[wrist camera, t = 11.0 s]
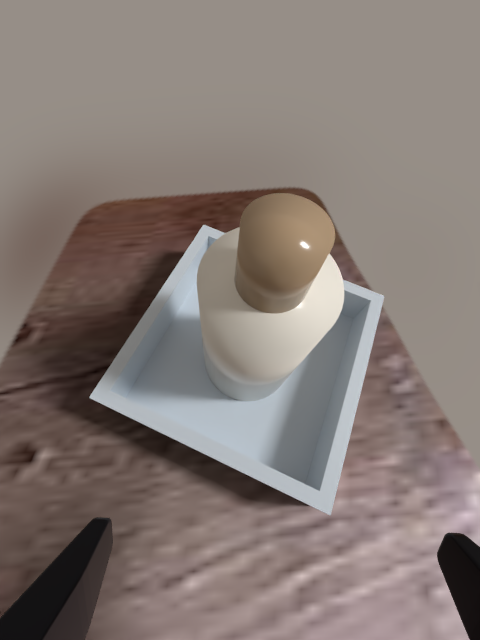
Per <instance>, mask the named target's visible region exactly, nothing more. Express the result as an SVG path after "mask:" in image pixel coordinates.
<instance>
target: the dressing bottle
mask: <svg viewBox="0 0 480 640" xmlns="http://www.w3.org/2000/svg"><path fill="white" fill-rule="evenodd" d="M334 241H335V230H334V226H333V224H332V221H331V219H330V218H329V216H328V215H327V214H326V212H325V211H324V210H323V209H322V208H320V207H319V206H318V205H317V204H315V203H314V202H312V201H310V200H308V199H306V198H304V197H301V196H298V195H293V194H287V193H275V194H269V195H265V196H262V197H260V198H258V199H256V200H254V201H253V202H252V203H250V204H249V205H248V206H247V207H246V209H245V210H244V212H243V214H242V217H241V221H240V227H239V228H236V229H234V230H231V231H229V232H227V233H226V234H224V235H222V236H221V237H219V238H218V239H217V240H216V241H215V242H214V243H213V244H212V245H211V246H210V247H209V248H208V249H207V251H206V252H205V253H204V255H203V257H202V259H201V261H200V264H199V267H198V272H197V293H198V303H199V312H200V322H201V332H202V341H203V351H204V361H205V368H206V371H207V374H208V376H209V378H210V380H211V382H212V383H213V384H214V386H215V387H216V388H217V389H218V390H219V391H220V392H222V393H223V394H225V395H226V396H228V397H230V398H233V399H236V400H240V401H256V400H260V399H263V398H266V397H268V396H270V395H271V394H273V393H274V392H275V391H276V390H277V389H278V388H279V387H280V386H281V385H282V384H283V383H284V381H285V380H286V379H287V378H288V377H289V376H290V375H291V373H292V372H293V371H294V370H295V369H296V368H297V367H298V365H299V364H300V363H301V362H302V361H303V360H304V359H305V357H306V356H307V355H308V354H309V353H310V352H311V351H312V349H313V348H314V347H315V346H316V345H317V344H318V343H319V341H320V340H321V339H322V338H323V337H324V336H325V334H326V333H327V332H328V331H329V330H330V329H331V328H332V326H333V325H334V324H335V322H336V321H337V319H338V318H339V315H340V313H341V310H342V307H343V303H344V284H343V279H342V276H341V273H340V270H339V268H338V266H337V264H336V262H335V261H334V259H333V258H332V257H331V255H330V254H329V253H330V251H331V249H332V247H333V244H334Z"/></svg>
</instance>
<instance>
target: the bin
mask: <svg viewBox="0 0 480 640" xmlns="http://www.w3.org/2000/svg"><path fill="white" fill-rule="evenodd" d="M224 234H226V233H223V232H221V231H218V230H216V229H213V228H211V227H208V226H205V225H203V226H202V228H201V229H200V231H199V232H198V234H197V235H196V237H195V238H194V240H193V241H192V243H191V244H190V246H189V247H188V249H187V250H186V252H185V254H184V255H183V257H182V258H181V260H180V261H179V263H178V264H177V266H176V267H175V269H174V270H173V272H172V273H171V275H170V276H169V278H168V279H167V281H166V282H165V284H164V285H163V287H162V288H161V290H160V291H159V293H158V294H157V296H156V297H155V299H154V300H153V302H152V303H151V305H150V306H149V308H148V309H147V311H146V312H145V314H144V315H143V317H142V318H141V320H140V321H139V323H138V324H137V326H136V327H135V329H134V330H133V332H132V333H131V335H130V336H129V338H128V339H127V341H126V342H125V344H124V345H123V347H122V348H121V350H120V351H119V353H118V354H117V356H116V357H115V359H114V361H113V362H112V364H111V365H110V367H109V368H108V370H107V371H106V373H105V374H104V376H103V377H102V379H101V380H100V382H99V383H98V385H97V386H96V388H95V389H94V391H93V392H92V394H91V395H90V397H89V398H91V399H93V400H95V401H97V402H98V403H100V404H102V405H104V406H106V407H108V408H110V409H112V410H115V411H117V412H119V413H121V414H123V415H125V416H127V417H129V418H131V419H133V420H135V421H137V422H139V423H141V424H143V425H145V426H147V427H149V428H151V429H153V430H156V431H158V432H160V433H162V434H164V435H166V436H168V437H170V438H172V439H174V440H176V441H178V442H180V443H182V444H184V445H186V446H188V447H190V448H192V449H194V450H197V451H199V452H201V453H203V454H205V455H207V456H209V457H211V458H213V459H215V460H217V461H219V462H221V463H223V464H225V465H227V466H229V467H231V468H233V469H235V470H238V471H240V472H242V473H244V474H246V475H248V476H250V477H252V478H254V479H256V480H258V481H260V482H262V483H264V484H266V485H268V486H270V487H272V488H274V489H276V490H279V491H281V492H283V493H285V494H287V495H289V496H291V497H293V498H295V499H297V500H299V501H301V502H303V503H305V504H307V505H309V506H311V507H313V508H316V509H318V510H320V511H322V512H324V513H326V514H328V515H331V511H332V507H333V503H334V499H335V495H336V491H337V487H338V483H339V479H340V475H341V471H342V466H343V462H344V458H345V454H346V450H347V446H348V442H349V438H350V434H351V430H352V426H353V422H354V418H355V414H356V409H357V405H358V401H359V397H360V393H361V389H362V385H363V381H364V377H365V373H366V369H367V365H368V361H369V356H370V352H371V348H372V344H373V340H374V336H375V332H376V328H377V324H378V320H379V316H380V312H381V308H382V304H383V299H384V296H383V295H380V294H378V293H375V292H373V291H370V290H368V289H365V288H363V287H360V286H358V285H355V284H353V283H350V282H348V281H345V280H343V284H344V303H343V307H342V310H341V313H340V315H339V318H338V319H337V321H336V322H335V324H334V325H333V326H332V328H331V329H330V330H329V331H328V332H327V333H326V334H325V336H324V337H323V338H322V339H321V340H320V341H319V343H318V344H317V345H316V346H315V347H314V348H313V349H312V351H311V352H310V353H309V354H308V355H307V356H306V357H305V359H304V360H303V361H302V362H301V363H300V364H299V365H298V367H297V368H296V369H295V370H294V371H293V372H292V373H291V375H290V376H289V377H288V378H287V379H286V380H285V381H284V383H283V384H282V385H281V386H280V387H279V388H278V389H277V390H276V391H275V392H274V393H273V394H271V395H270V396H268V397H266V398H263V399H260V400H256V401H240V400H236V399H233V398H230V397H228V396H226V395H225V394H223V393H222V392H220V391H219V390H218V389H217V388H216V387H215V386H214V384H213V383H212V382H211V380H210V378H209V376H208V374H207V371H206V368H205V361H204V351H203V341H202V332H201V322H200V312H199V303H198V293H197V272H198V267H199V264H200V261H201V259H202V257H203V255H204V253H205V252H206V251H207V249H208V248H209V247H210V246H211V245H212V244H213V243H214V242H215V241H216V240H217V239H218V238H219V237H221V236H222V235H224Z"/></svg>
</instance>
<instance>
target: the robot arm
mask: <svg viewBox="0 0 480 640" xmlns="http://www.w3.org/2000/svg"><path fill="white" fill-rule="evenodd" d="M112 544H113V536H112V523H111V519H110V518H98V517H97V518H94V519H93V520H92V521H91V522H90V523H89V524H88V525H87V526H86V527H85V528H84V529H83V530H82V531H81V532H80V533H79V534H78V535H77V537H76V538H75V539H74V540H73V541H72V542H71V543H70V544H69V545H68V546H67V547H66V548H65V549H64V550H63V552H62V553H61V554H60V555H59V556H58V557H57V558H56V559H55V560H54V561H53V562H52V563H51V564H50V565H49V566H48V568H47V569H46V570H45V571H44V572H43V573H42V574H41V575H40V576H39V577H38V578H37V579H36V580H35V581H34V583H33V584H32V585H31V586H30V587H29V588H28V589H27V590H26V591H25V592H24V593H23V594H22V595H21V596H20V598H19V599H18V600H17V601H16V602H15V603H14V604H13V605H12V606H11V607H10V608H9V609H8V610H7V611H6V613H5V614H4V615H3V616H2V617H1V618H0V640H85V638H86V635H87V632H88V629H89V626H90V623H91V619H92V616H93V613H94V609H95V606H96V602H97V599H98V595H99V592H100V588H101V585H102V581H103V577H104V574H105V570H106V567H107V563H108V560H109V556H110V553H111V549H112ZM437 558H438V562H439V565H440V568H441V570H442V573H443V575H444V578H445V580H446V583H447V585H448V588H449V590H450V593H451V595H452V598H453V600H454V602H455V605H456V607H457V610H458V612H459V615H460V617H461V620H462V622H463V625H464V627H465V630H466V632H467V634H468V637H469V639H470V640H480V547H479V546H478V545H477V544H475V543H474V542H473V541H472V540H471V539H469V538H468V537H467V536H465V535H464V534H461V533H447V534H446V535H445V536H444V538H443V541H442V543H441V545H440V547H439V550H438V552H437Z"/></svg>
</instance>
